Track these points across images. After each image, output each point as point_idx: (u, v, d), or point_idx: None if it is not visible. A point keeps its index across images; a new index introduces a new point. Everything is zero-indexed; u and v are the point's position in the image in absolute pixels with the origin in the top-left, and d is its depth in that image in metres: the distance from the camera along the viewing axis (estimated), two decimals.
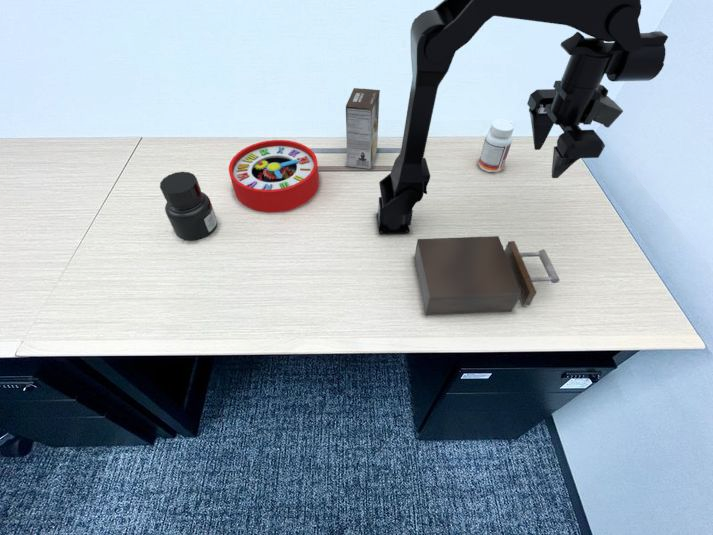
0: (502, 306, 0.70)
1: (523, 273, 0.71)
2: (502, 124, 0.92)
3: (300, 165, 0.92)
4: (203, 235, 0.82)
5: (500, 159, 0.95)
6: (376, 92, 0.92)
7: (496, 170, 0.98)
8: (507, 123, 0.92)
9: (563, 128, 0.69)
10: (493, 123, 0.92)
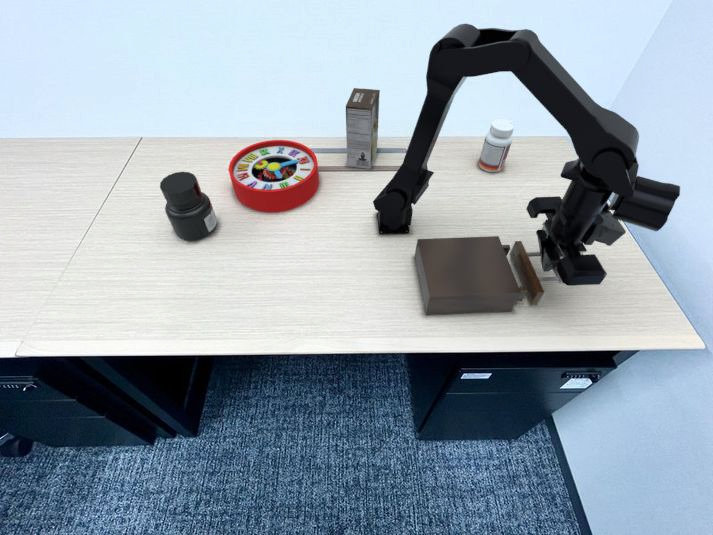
0: (502, 306, 0.70)
1: (530, 272, 0.71)
2: (502, 124, 0.92)
3: (300, 165, 0.92)
4: (203, 235, 0.82)
5: (500, 159, 0.95)
6: (376, 92, 0.92)
7: (496, 170, 0.98)
8: (507, 123, 0.92)
9: (563, 245, 0.66)
10: (493, 123, 0.92)
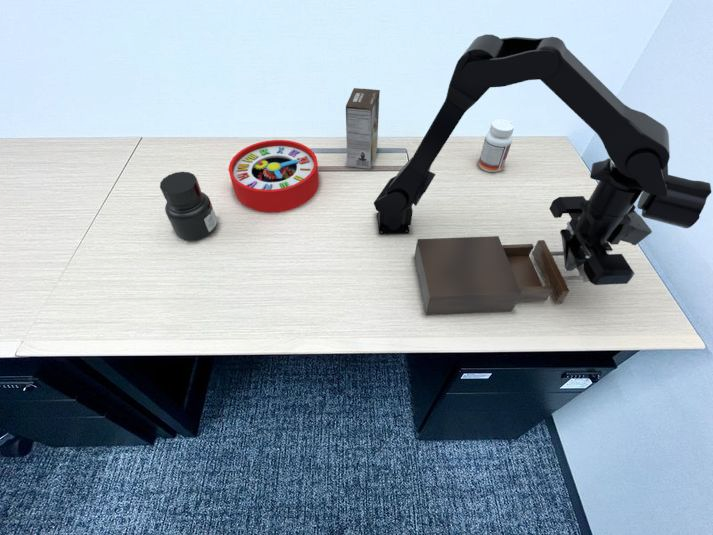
0: (502, 306, 0.70)
1: (555, 271, 0.71)
2: (502, 124, 0.92)
3: (300, 165, 0.92)
4: (203, 235, 0.82)
5: (500, 159, 0.95)
6: (376, 92, 0.92)
7: (496, 170, 0.98)
8: (507, 123, 0.92)
9: None
10: (493, 123, 0.92)
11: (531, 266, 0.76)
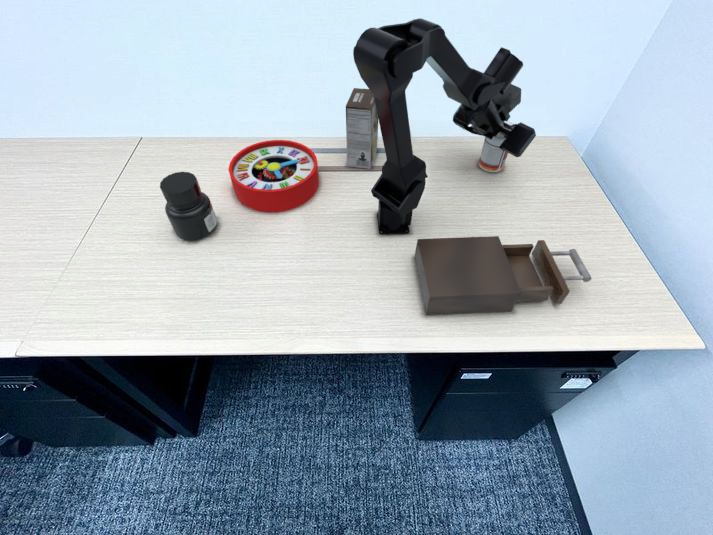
0: (502, 306, 0.70)
1: (555, 271, 0.71)
2: None
3: (300, 165, 0.92)
4: (203, 235, 0.82)
5: (500, 159, 0.95)
6: None
7: (496, 170, 0.98)
8: (507, 123, 0.92)
9: None
10: None
11: (531, 266, 0.76)
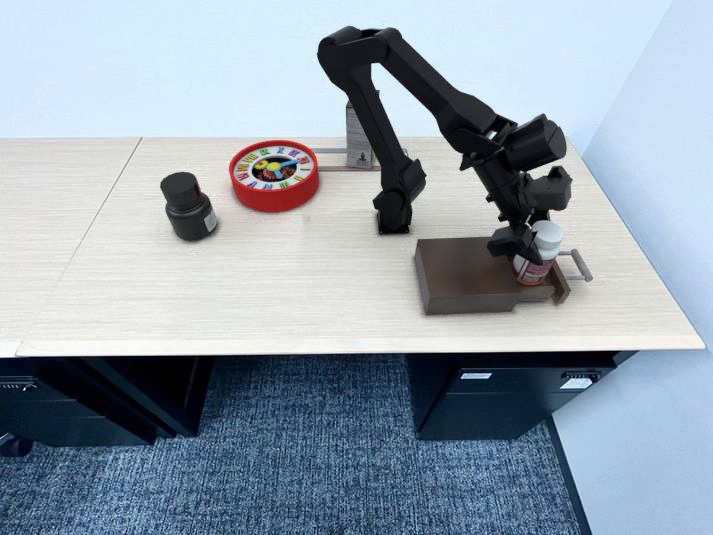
0: (502, 306, 0.70)
1: (556, 271, 0.71)
2: (548, 229, 0.66)
3: (300, 165, 0.92)
4: (203, 235, 0.82)
5: (521, 267, 0.70)
6: None
7: (515, 278, 0.73)
8: (554, 234, 0.65)
9: None
10: (543, 221, 0.67)
11: None
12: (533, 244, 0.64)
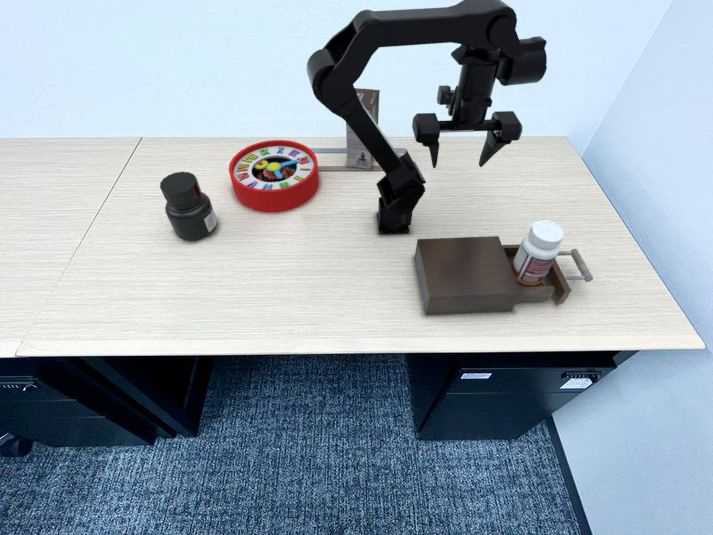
0: (502, 306, 0.70)
1: (556, 271, 0.71)
2: (548, 229, 0.66)
3: (300, 165, 0.92)
4: (203, 235, 0.82)
5: (521, 267, 0.70)
6: (376, 92, 0.92)
7: (515, 278, 0.73)
8: (554, 234, 0.65)
9: (475, 129, 0.72)
10: (543, 221, 0.67)
11: None
12: None
